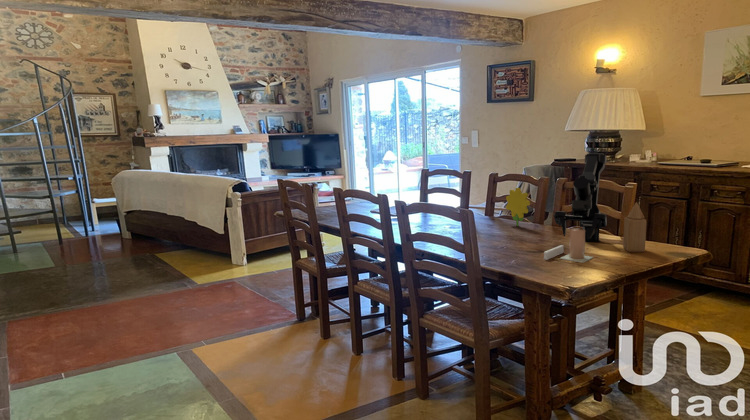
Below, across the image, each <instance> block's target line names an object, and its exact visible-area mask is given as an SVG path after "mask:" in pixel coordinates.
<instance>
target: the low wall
mask: <svg viewBox="0 0 750 420" xmlns="http://www.w3.org/2000/svg"><path fill="white" fill-rule="evenodd" d="M564 248H565V247H564V244H563V245H562V244H560V245H557V246H555V247H553V248H551V249H548V250H546V251H544V252H543V260H545V261H549V260H550V259H552V258H555V257H557V256H559V255H561V254H564Z"/></svg>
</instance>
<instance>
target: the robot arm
mask: <svg viewBox="0 0 750 420" xmlns="http://www.w3.org/2000/svg"><path fill="white" fill-rule="evenodd" d="M607 161H608V158H607V155H606V154H604V153H599V152H588V153H586V154H584V164H585V166H584V169H583V172H582V174H580V175H578V177H577V178H575V180H573V182H572V185H573V190H574V194H575V196H576V197H575V199H574V200H573V199H572V201H571V214H572V215H571V214H567V212H566V211H564V210H563V211H562V210H556V211H555V212H554V214H553V217H554V221H555V224H556V225H558V226H561V229H562V234H563V235H562V236H563V237H565V236H566V234H567V221H573V222H575V221H577V222H579V227H580V228H582V229H585V243H586V242H587V243H588V242H589V243H591V242H594V243H595V242H599V243H600V242H601V240H600V229H603V228H606V227H607V222H608V221H607V214H606V213H602V212H601V211H600V209H599V206H598V199H599V190H600V189H599V188H600V179H601V177H600V176H601V174H602V172H603V171H604V170H605V166H606V164H607Z"/></svg>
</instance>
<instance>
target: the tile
mask: <svg viewBox="0 0 750 420" xmlns="http://www.w3.org/2000/svg"><path fill="white" fill-rule="evenodd" d="M559 259H560V260H563V261H564V260H565V261H571V262H576V263H582V264H584V263H585V262H588V261H590V260H592V259H594V256H589V255H585V254H584V259H572V258H569V253H568V254H566V255H563V256H561V257H560V258H559Z"/></svg>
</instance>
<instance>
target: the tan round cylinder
mask: <svg viewBox="0 0 750 420" xmlns="http://www.w3.org/2000/svg"><path fill="white" fill-rule="evenodd" d="M568 240H569V245H568V246H569V248H568V254H569V258H572V259H584V255H585V247H586V242H585V229H583V228H582V227H580V228H579V227H578V228H577V227H575V228H570V229H569V239H568Z"/></svg>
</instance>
